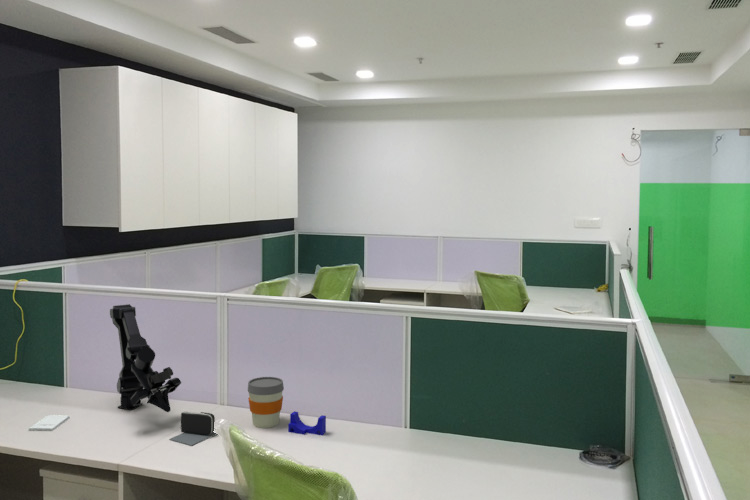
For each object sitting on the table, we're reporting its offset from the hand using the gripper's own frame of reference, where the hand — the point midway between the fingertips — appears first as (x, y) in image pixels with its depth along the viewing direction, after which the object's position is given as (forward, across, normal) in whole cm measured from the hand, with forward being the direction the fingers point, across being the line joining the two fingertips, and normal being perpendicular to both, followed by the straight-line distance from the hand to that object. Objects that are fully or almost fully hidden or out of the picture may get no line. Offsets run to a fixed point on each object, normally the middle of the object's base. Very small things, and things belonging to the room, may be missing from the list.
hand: (169, 411), depth 227 cm
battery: (+6, 0, -3) cm, 6 cm away
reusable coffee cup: (+22, +21, -14) cm, 33 cm away
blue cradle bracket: (+35, +21, -26) cm, 48 cm away
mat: (+13, 0, -5) cm, 14 cm away
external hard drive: (-22, -18, +33) cm, 44 cm away
